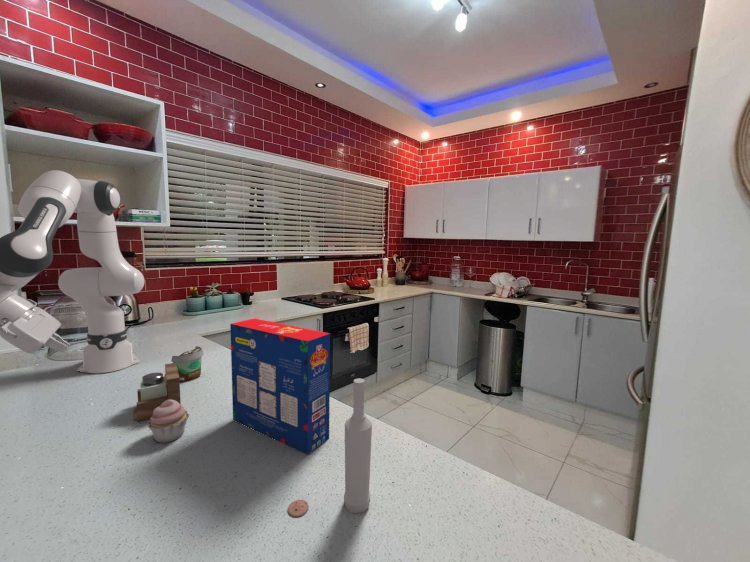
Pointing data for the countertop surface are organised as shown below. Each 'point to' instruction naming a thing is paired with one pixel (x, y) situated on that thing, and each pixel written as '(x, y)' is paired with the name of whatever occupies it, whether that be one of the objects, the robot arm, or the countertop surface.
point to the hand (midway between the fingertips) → (66, 348)
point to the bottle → (357, 454)
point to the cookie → (298, 508)
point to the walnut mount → (172, 392)
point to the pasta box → (281, 382)
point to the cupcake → (168, 421)
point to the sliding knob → (153, 386)
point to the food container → (189, 364)
